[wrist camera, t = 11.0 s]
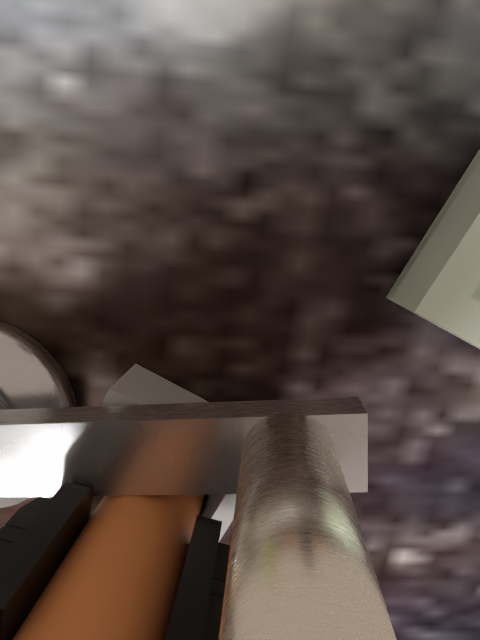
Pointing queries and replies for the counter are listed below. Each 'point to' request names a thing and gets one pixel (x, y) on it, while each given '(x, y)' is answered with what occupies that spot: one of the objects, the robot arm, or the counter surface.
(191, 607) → the robot arm
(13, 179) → the counter surface
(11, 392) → the crank flange
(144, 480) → the crank
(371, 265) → the counter surface
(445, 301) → the tray
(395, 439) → the counter surface
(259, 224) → the counter surface
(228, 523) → the collar
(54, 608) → the pin
